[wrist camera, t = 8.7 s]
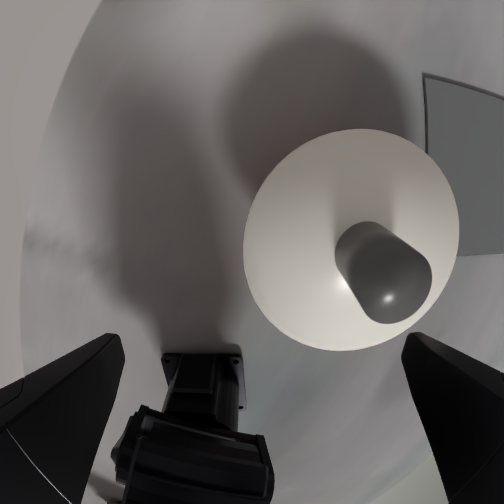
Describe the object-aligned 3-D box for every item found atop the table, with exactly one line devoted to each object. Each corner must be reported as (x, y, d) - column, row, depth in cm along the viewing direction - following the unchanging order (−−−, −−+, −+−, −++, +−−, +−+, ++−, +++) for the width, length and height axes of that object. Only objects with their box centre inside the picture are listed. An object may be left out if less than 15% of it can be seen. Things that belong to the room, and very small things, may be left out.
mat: (521, 250, 20) (523, 251, 20) (417, 257, 20) (419, 258, 20) (530, 112, 16) (532, 112, 15) (423, 78, 16) (425, 77, 16)
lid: (431, 330, 17) (466, 375, 13) (249, 349, 17) (248, 409, 13) (458, 140, 13) (516, 146, 9) (236, 129, 13) (229, 120, 9)
